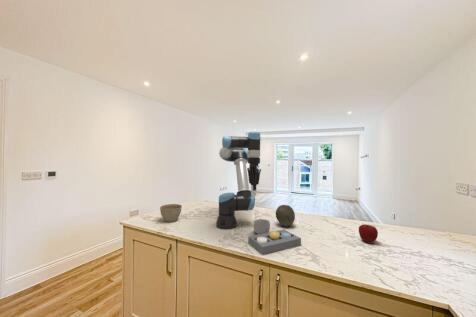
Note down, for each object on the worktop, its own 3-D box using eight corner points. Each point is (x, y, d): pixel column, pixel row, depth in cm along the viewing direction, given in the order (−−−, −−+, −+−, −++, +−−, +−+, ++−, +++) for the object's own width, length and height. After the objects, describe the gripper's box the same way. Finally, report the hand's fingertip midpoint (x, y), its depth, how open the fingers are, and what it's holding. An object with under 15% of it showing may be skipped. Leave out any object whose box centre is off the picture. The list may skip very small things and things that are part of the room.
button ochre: (267, 238, 113) (267, 231, 113) (275, 237, 115) (275, 230, 115) (273, 242, 108) (273, 235, 108) (281, 240, 110) (281, 233, 110)
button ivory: (254, 244, 109) (255, 237, 109) (263, 243, 112) (263, 236, 112) (260, 249, 104) (260, 241, 104) (269, 247, 107) (269, 239, 107)
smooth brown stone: (297, 224, 145) (297, 204, 145) (291, 230, 133) (291, 208, 133) (279, 221, 153) (279, 202, 153) (272, 226, 141) (272, 205, 141)
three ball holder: (248, 243, 113) (248, 236, 113) (283, 235, 124) (283, 229, 124) (262, 254, 99) (262, 247, 99) (301, 245, 111) (301, 238, 111)
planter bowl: (155, 223, 146) (155, 208, 146) (166, 216, 162) (166, 203, 162) (175, 224, 143) (175, 209, 143) (185, 217, 159) (185, 204, 159)
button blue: (279, 239, 117) (279, 232, 117) (286, 237, 119) (286, 231, 119) (285, 243, 112) (285, 236, 112) (292, 241, 114) (293, 234, 114)
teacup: (269, 237, 121) (269, 224, 121) (252, 235, 123) (252, 223, 123) (270, 229, 135) (270, 218, 135) (254, 228, 137) (254, 216, 137)
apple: (360, 237, 123) (361, 221, 123) (379, 241, 116) (379, 225, 116) (356, 241, 116) (356, 224, 116) (375, 246, 110) (376, 229, 110)
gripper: (243, 157, 123) (243, 194, 124) (254, 157, 112) (253, 198, 112) (253, 157, 127) (253, 193, 127) (265, 157, 115) (264, 197, 115)
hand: (253, 195), depth 119 cm, fingers closed
